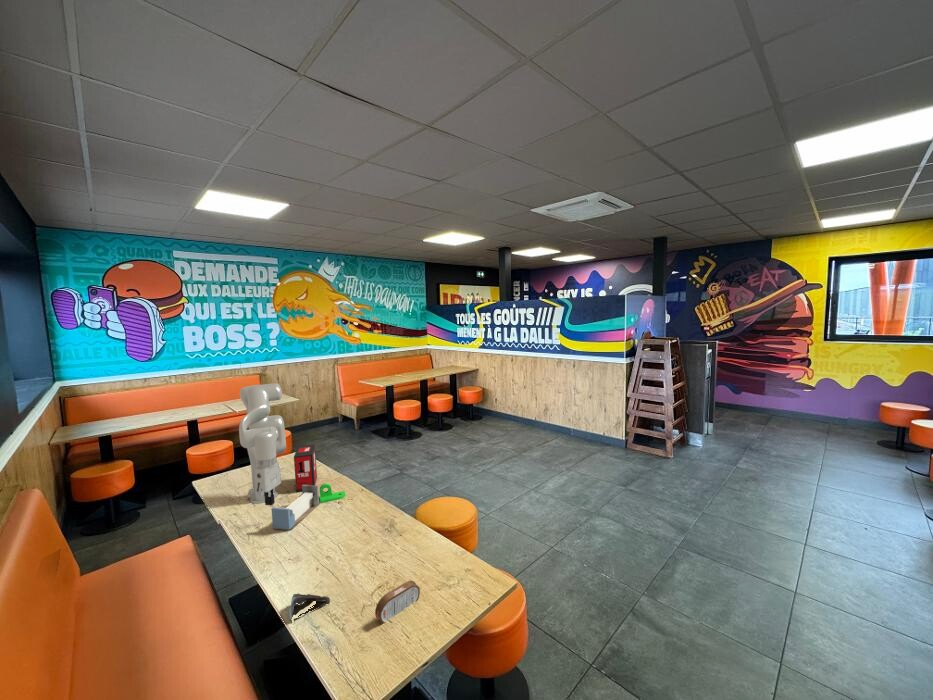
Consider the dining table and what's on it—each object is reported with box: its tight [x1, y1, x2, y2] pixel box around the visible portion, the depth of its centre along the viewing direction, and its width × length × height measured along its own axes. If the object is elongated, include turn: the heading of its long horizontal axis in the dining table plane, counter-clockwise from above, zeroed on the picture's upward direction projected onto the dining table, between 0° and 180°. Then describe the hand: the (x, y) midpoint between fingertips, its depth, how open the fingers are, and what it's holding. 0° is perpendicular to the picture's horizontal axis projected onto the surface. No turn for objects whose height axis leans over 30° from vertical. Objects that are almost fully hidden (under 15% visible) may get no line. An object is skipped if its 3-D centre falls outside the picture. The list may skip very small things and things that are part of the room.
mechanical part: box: [319, 482, 346, 504], centre depth 189 cm, size 12×6×8 cm, turn 113°
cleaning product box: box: [293, 443, 318, 493], centre depth 205 cm, size 16×9×20 cm, turn 17°
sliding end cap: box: [271, 507, 295, 531], centre depth 164 cm, size 8×4×9 cm, turn 80°
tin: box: [374, 580, 421, 624], centre depth 116 cm, size 15×3×8 cm, turn 133°
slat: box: [285, 492, 313, 520], centre depth 175 cm, size 4×16×6 cm, turn 170°
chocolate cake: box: [288, 592, 331, 619], centre depth 118 cm, size 10×7×12 cm
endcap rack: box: [272, 484, 322, 531], centre depth 173 cm, size 9×23×10 cm, turn 170°
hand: (269, 504), depth 155 cm, fingers closed
